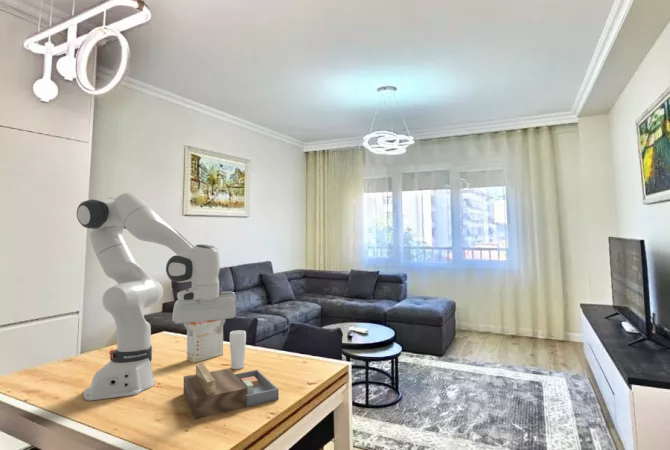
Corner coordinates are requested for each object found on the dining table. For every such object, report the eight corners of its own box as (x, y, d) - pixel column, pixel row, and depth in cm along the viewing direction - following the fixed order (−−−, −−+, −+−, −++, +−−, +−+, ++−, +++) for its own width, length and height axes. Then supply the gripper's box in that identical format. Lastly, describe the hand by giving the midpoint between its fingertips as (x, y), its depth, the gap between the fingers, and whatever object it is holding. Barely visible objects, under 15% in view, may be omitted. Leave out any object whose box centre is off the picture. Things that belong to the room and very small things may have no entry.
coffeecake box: (215, 352, 179) (215, 311, 180) (223, 355, 175) (223, 313, 176) (186, 360, 168) (186, 316, 169) (194, 363, 163) (194, 318, 164)
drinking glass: (236, 371, 152) (236, 334, 153) (226, 368, 156) (226, 332, 157) (249, 367, 158) (249, 331, 158) (239, 363, 162) (239, 329, 162)
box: (246, 407, 119) (246, 395, 119) (229, 384, 138) (229, 375, 138) (278, 399, 125) (278, 388, 125) (257, 378, 144) (257, 369, 144)
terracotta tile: (258, 380, 136) (258, 385, 135) (254, 376, 140) (254, 381, 140) (244, 382, 133) (244, 388, 133) (240, 378, 138) (240, 384, 137)
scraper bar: (207, 395, 114) (207, 382, 114) (195, 375, 131) (195, 363, 132) (215, 393, 115) (215, 380, 116) (202, 374, 133) (202, 362, 133)
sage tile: (247, 386, 122) (253, 385, 123) (243, 381, 127) (249, 380, 128) (247, 401, 122) (253, 400, 123) (243, 396, 127) (249, 394, 128)
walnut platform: (194, 419, 111) (194, 399, 111) (183, 393, 130) (183, 376, 130) (246, 407, 119) (246, 388, 120) (229, 384, 138) (229, 368, 139)
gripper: (233, 289, 133) (233, 328, 132) (172, 293, 122) (171, 335, 122) (238, 291, 127) (238, 332, 127) (174, 295, 117) (173, 340, 116)
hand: (204, 333), depth 124 cm, fingers open, 8 cm apart
